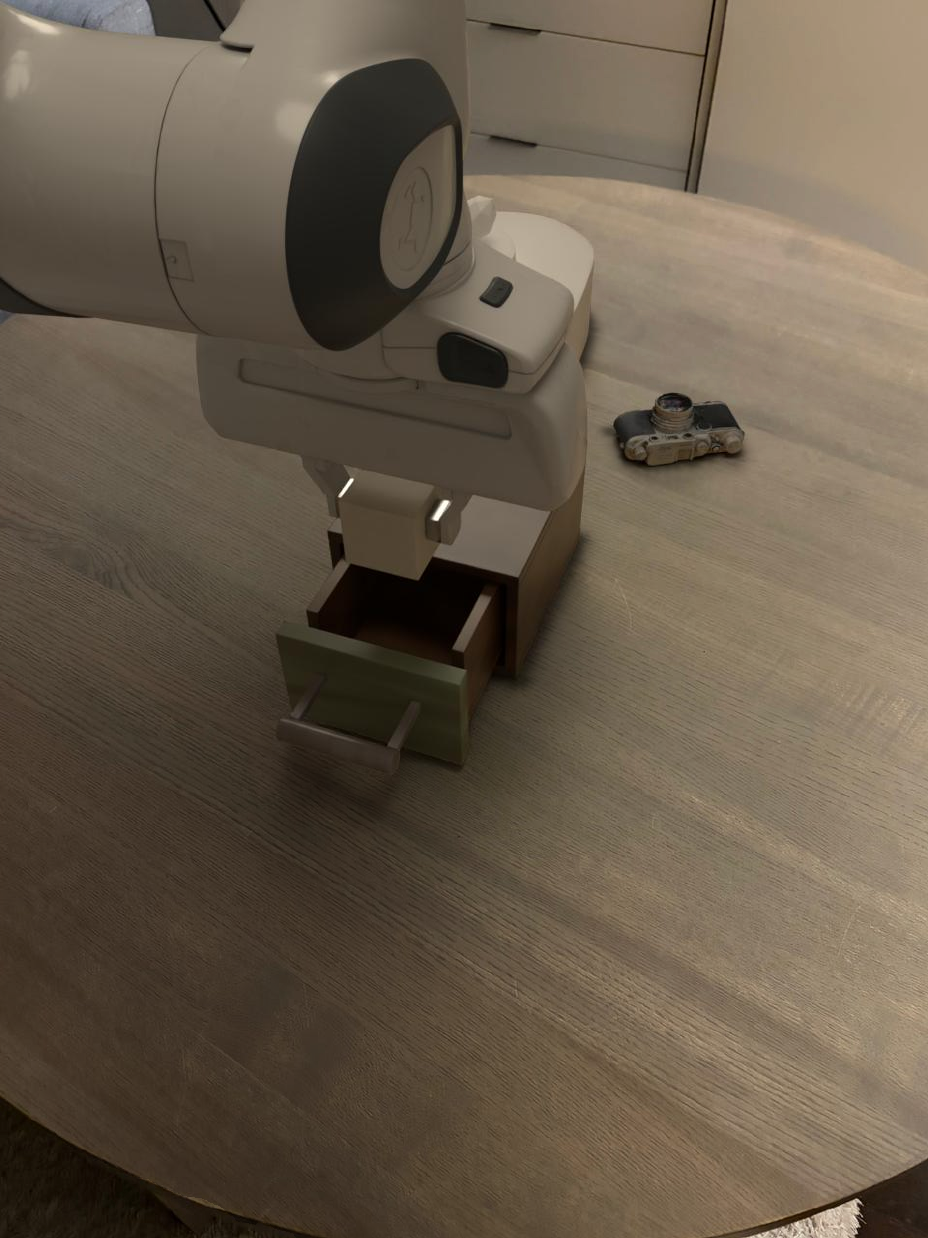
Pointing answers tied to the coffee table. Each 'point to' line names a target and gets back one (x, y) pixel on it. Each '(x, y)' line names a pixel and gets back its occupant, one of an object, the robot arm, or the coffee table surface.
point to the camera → (677, 430)
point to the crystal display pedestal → (542, 255)
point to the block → (387, 523)
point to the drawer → (391, 663)
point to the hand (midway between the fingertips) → (395, 524)
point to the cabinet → (508, 560)
